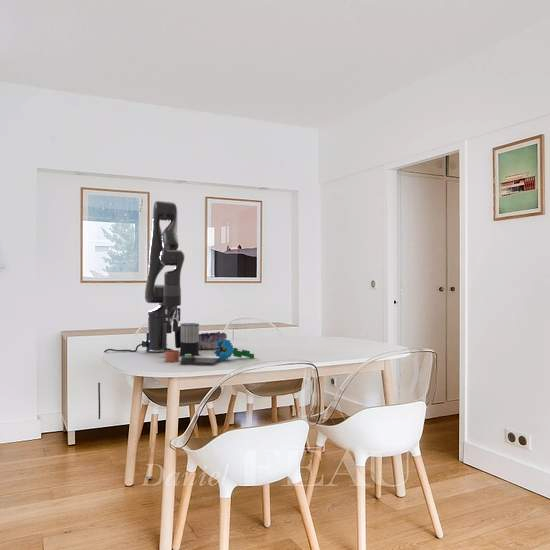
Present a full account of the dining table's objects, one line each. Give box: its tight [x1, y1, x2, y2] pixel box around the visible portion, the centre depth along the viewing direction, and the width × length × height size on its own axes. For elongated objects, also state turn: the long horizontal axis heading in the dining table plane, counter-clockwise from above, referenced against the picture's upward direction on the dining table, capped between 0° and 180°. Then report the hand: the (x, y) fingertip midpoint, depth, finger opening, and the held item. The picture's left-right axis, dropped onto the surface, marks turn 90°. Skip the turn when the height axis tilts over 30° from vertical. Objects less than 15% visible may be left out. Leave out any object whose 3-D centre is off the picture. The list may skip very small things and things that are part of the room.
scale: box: [180, 355, 221, 367], centre depth 232 cm, size 14×12×3 cm
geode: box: [199, 331, 228, 350], centre depth 278 cm, size 20×12×10 cm, turn 116°
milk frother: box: [163, 322, 200, 357], centre depth 254 cm, size 14×16×15 cm
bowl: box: [164, 349, 180, 363], centre depth 236 cm, size 6×6×4 cm
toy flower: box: [213, 339, 255, 361], centre depth 242 cm, size 9×9×18 cm
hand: (172, 332), depth 236 cm, fingers open, 7 cm apart
